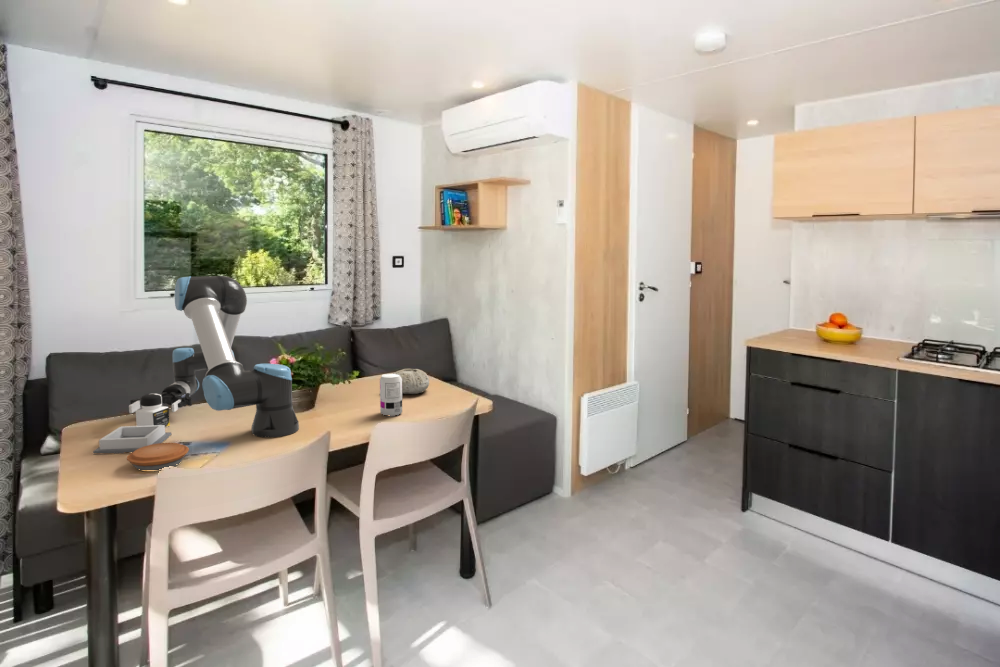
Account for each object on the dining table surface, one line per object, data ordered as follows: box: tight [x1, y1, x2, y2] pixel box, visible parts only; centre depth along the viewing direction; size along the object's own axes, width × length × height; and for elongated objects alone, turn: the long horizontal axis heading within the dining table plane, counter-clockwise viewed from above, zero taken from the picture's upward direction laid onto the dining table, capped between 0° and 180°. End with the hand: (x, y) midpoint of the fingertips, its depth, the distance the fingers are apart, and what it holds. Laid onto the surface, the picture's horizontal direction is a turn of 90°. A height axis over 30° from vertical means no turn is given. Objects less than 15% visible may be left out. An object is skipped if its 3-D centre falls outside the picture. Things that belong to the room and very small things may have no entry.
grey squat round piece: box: [392, 368, 430, 395], centre depth 251 cm, size 18×18×10 cm
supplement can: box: [379, 373, 403, 417], centre depth 218 cm, size 8×8×15 cm
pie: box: [126, 442, 190, 470], centre depth 166 cm, size 15×16×5 cm
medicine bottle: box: [135, 393, 171, 429], centre depth 197 cm, size 7×7×12 cm
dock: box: [92, 425, 172, 454], centre depth 182 cm, size 16×16×4 cm
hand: (151, 408), depth 198 cm, fingers open, 13 cm apart
